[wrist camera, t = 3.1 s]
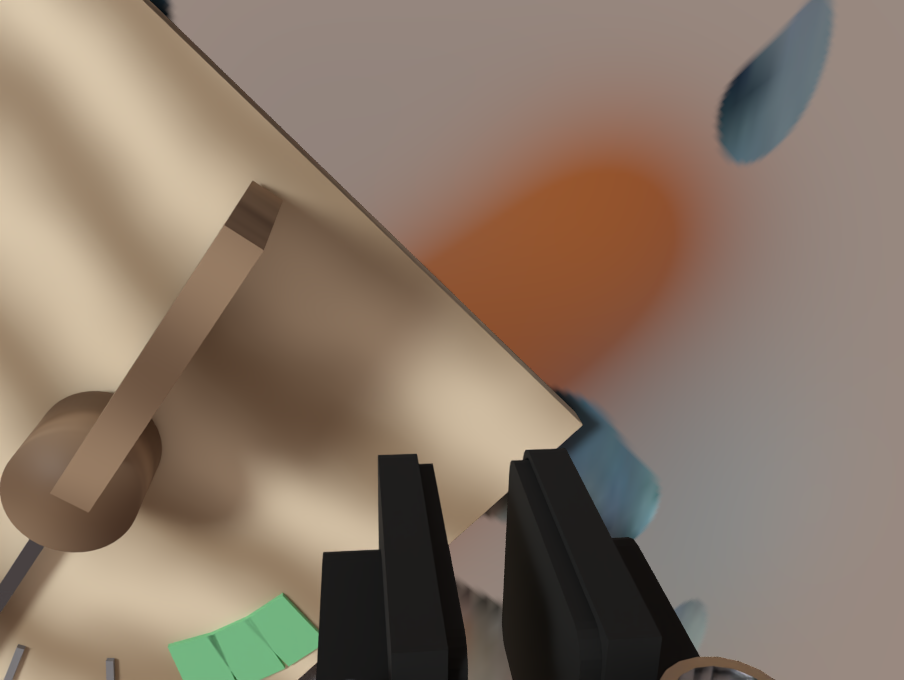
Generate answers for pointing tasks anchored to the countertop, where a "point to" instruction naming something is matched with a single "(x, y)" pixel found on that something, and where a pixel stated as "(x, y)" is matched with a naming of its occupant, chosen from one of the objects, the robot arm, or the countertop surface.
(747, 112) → the countertop surface
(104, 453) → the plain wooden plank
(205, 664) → the board
